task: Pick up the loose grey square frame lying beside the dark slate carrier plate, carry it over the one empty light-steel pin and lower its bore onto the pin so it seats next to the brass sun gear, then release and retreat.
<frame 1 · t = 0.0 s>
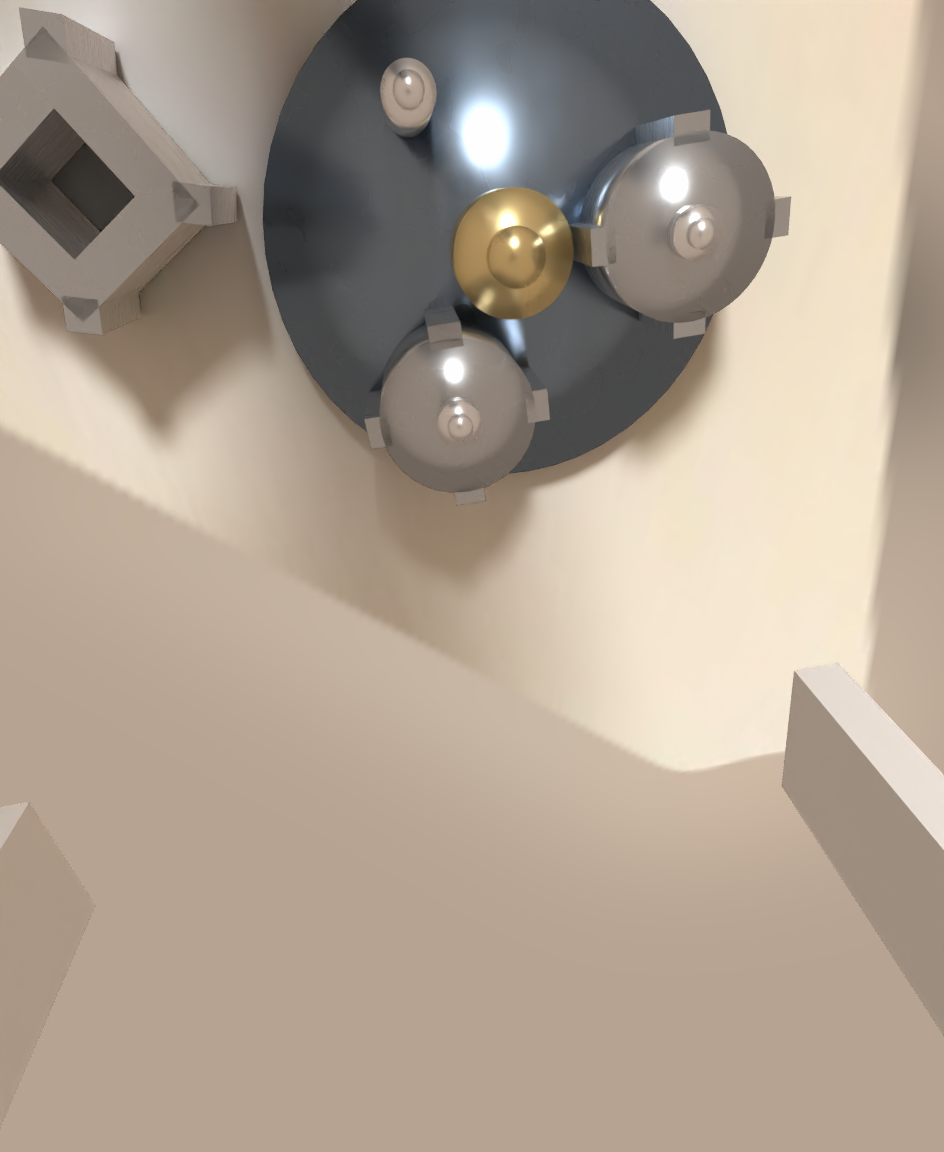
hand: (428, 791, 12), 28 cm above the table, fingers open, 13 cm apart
carrier: (501, 249, 34), on the table
grey square frame: (112, 188, 31), on the table
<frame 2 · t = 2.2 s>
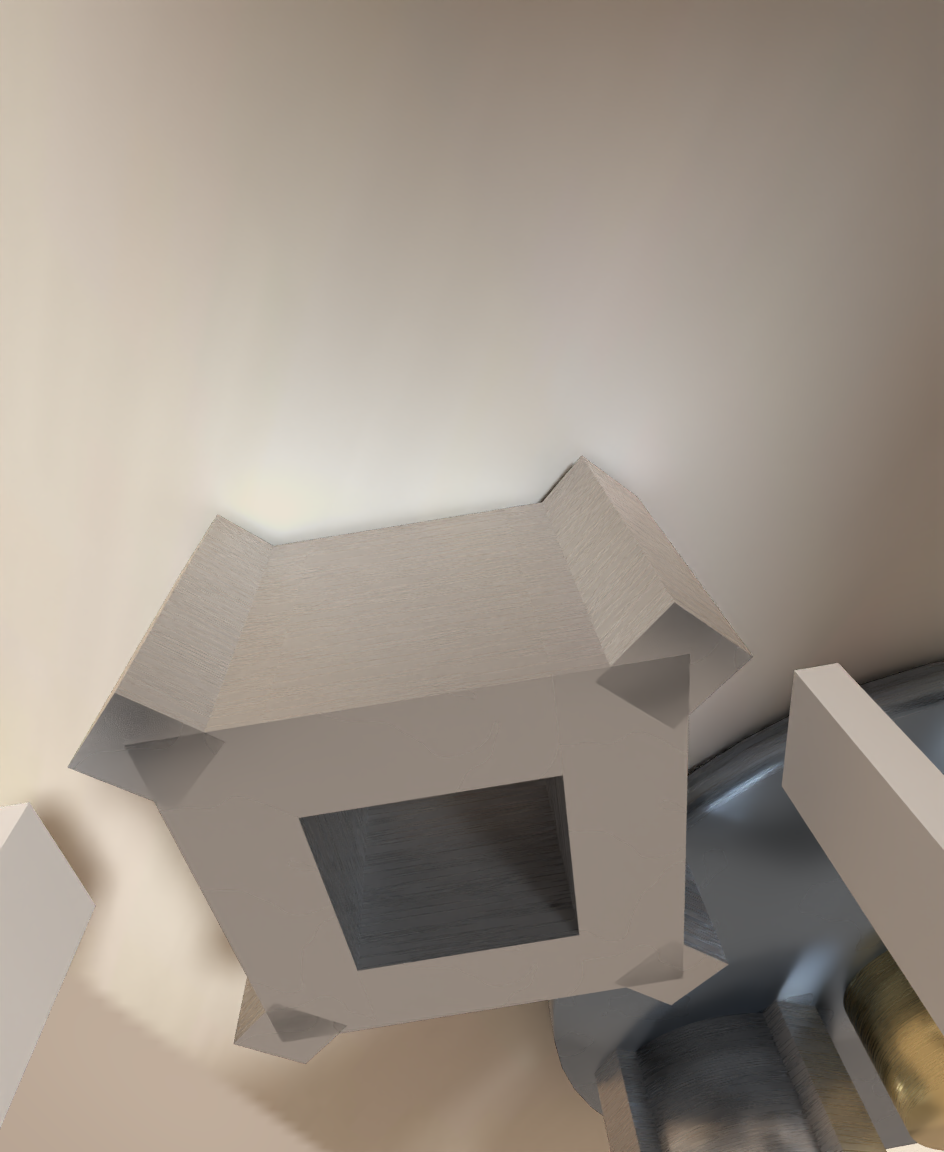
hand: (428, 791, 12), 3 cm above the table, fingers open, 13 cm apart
carrier: (907, 942, 21), on the table
grey square frame: (438, 673, 15), on the table
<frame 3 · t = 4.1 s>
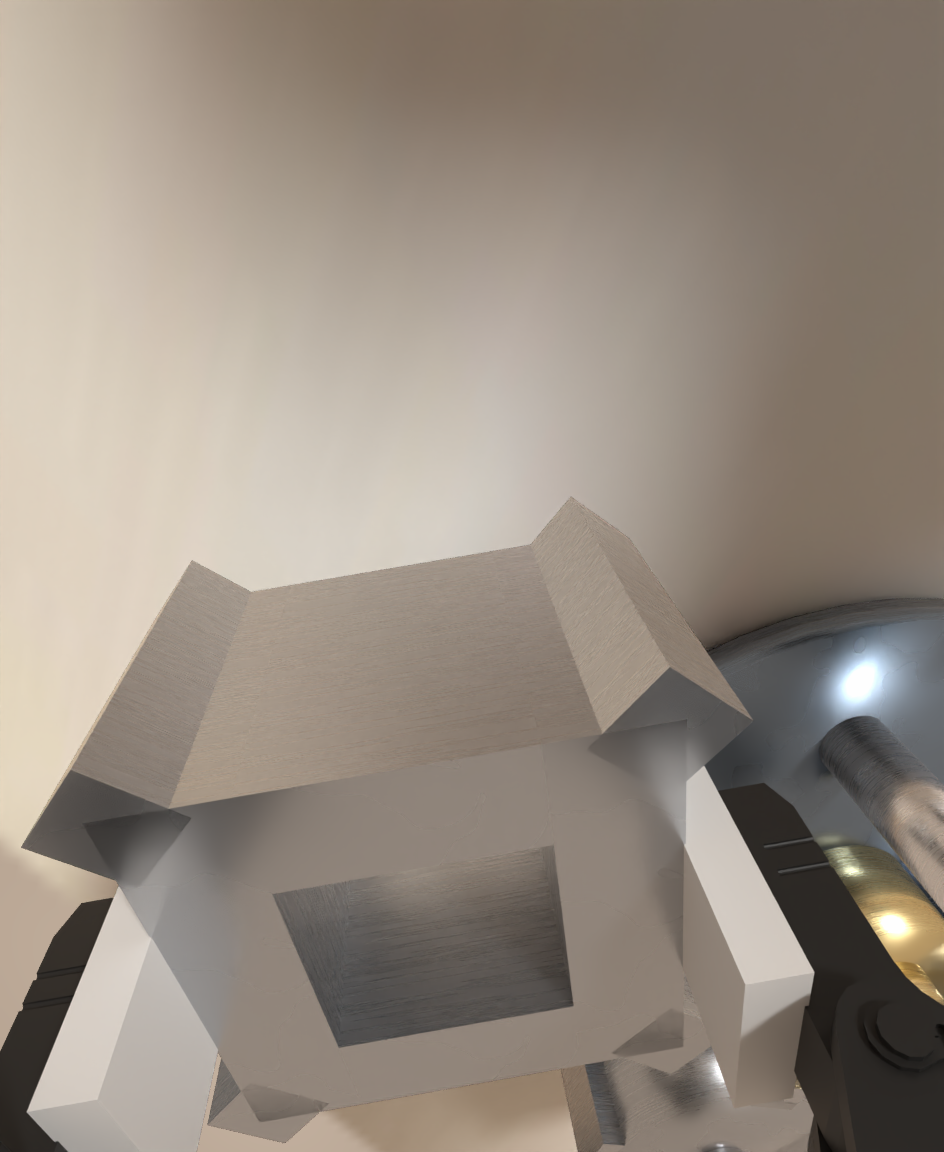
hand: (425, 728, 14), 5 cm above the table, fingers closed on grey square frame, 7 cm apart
carrier: (809, 871, 24), on the table
grey square frame: (425, 719, 14), point 4 cm above the table, touching gripper
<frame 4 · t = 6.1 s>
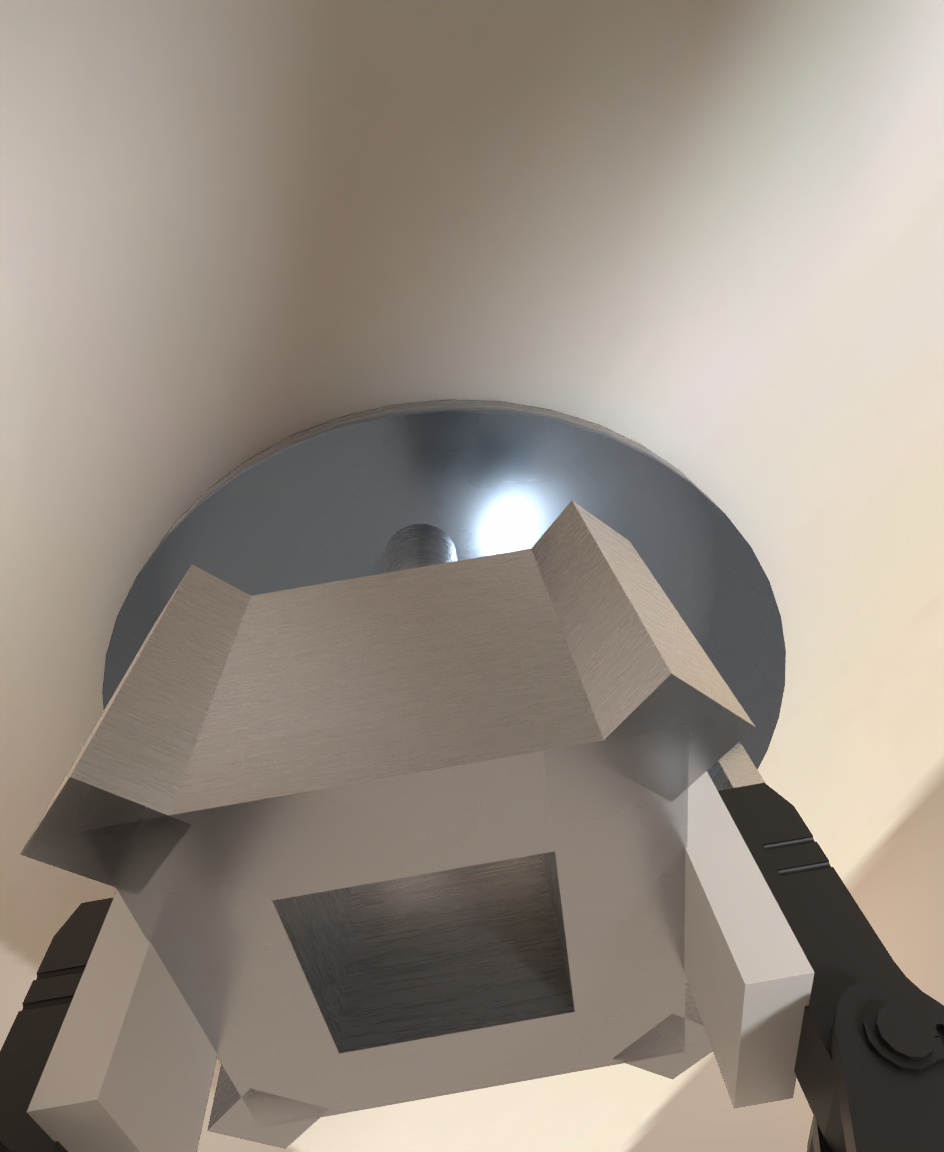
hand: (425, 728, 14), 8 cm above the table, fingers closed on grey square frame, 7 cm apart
carrier: (455, 716, 24), on the table
grey square frame: (425, 722, 14), point 8 cm above the table, touching gripper
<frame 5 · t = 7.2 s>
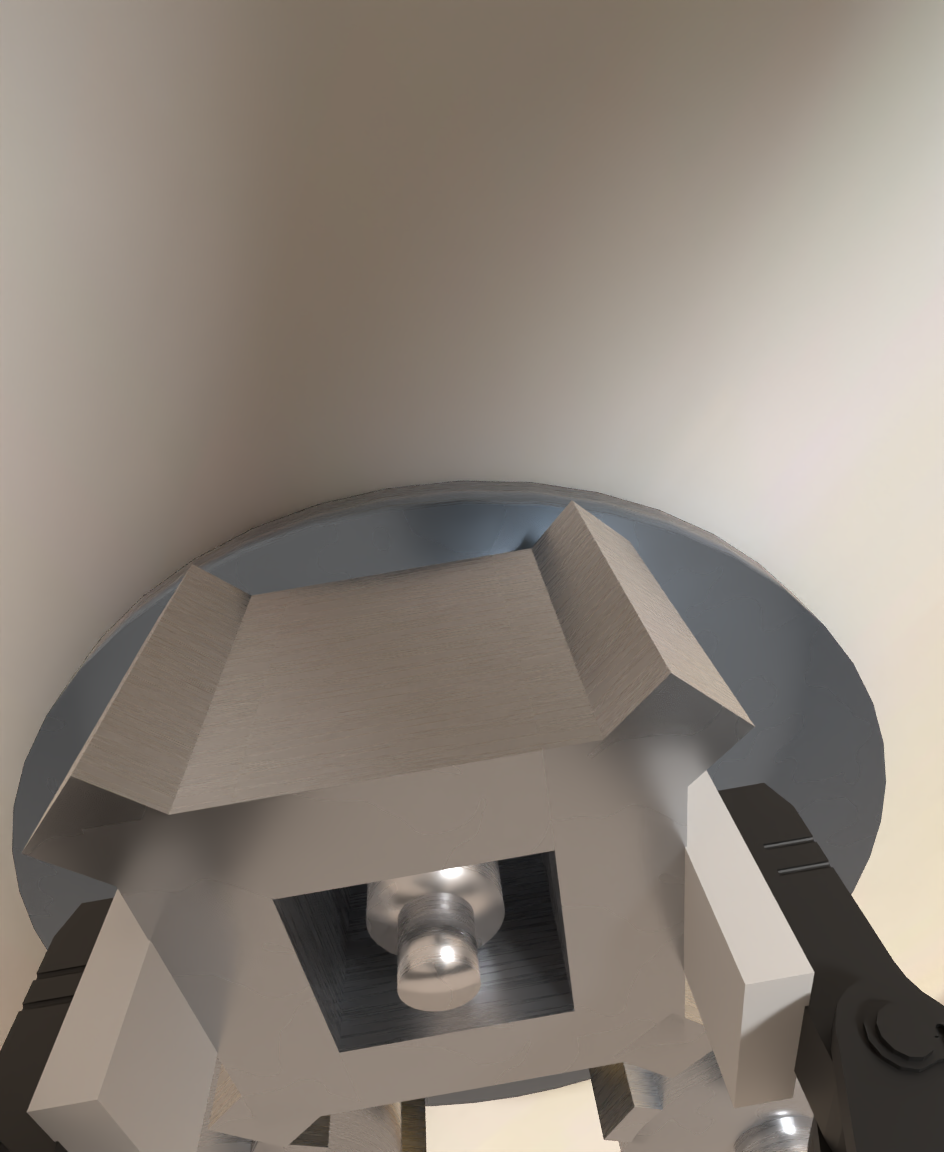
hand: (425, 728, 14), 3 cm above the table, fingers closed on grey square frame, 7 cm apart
carrier: (466, 853, 19), on the table
grey square frame: (425, 722, 14), point 2 cm above the table, touching gripper
when the fingers open (2 cm above the table, at t = 8.0 s): grey square frame stays where it is, resting on carrier.
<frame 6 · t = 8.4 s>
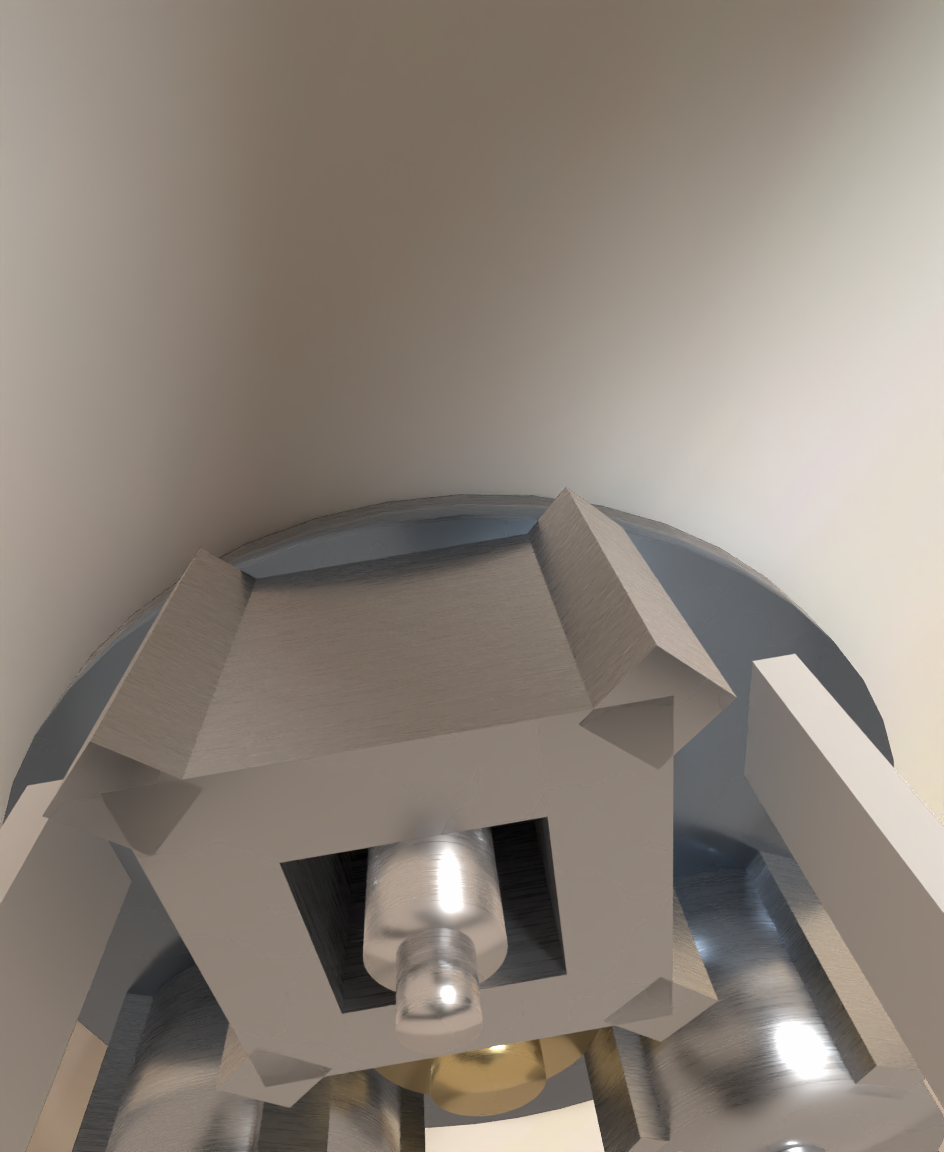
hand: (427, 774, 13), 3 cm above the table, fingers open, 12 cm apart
carrier: (467, 871, 19), on the table
grey square frame: (424, 703, 14), point 1 cm above the table, touching carrier
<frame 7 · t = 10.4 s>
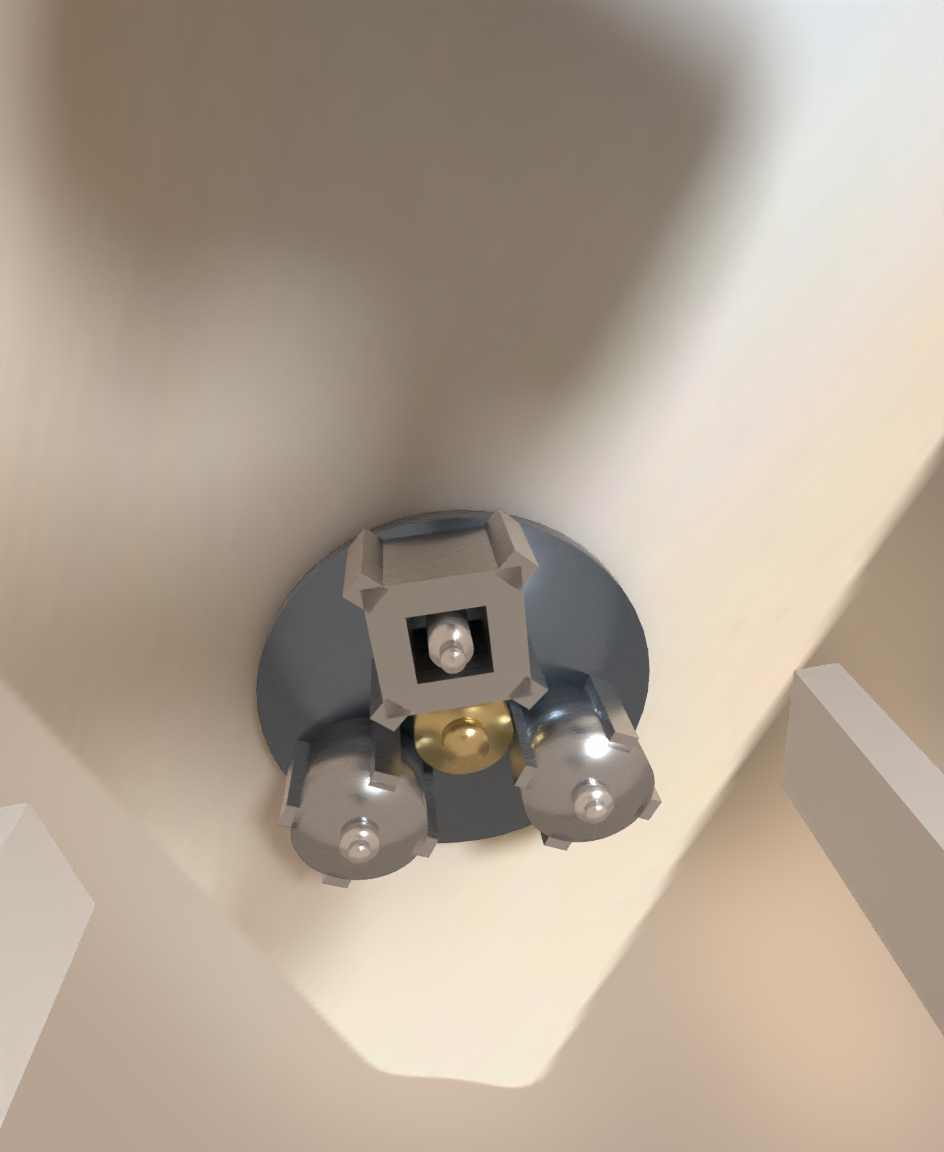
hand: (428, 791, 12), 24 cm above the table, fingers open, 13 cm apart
carrier: (456, 688, 40), on the table
grey square frame: (442, 594, 36), point 1 cm above the table, touching carrier
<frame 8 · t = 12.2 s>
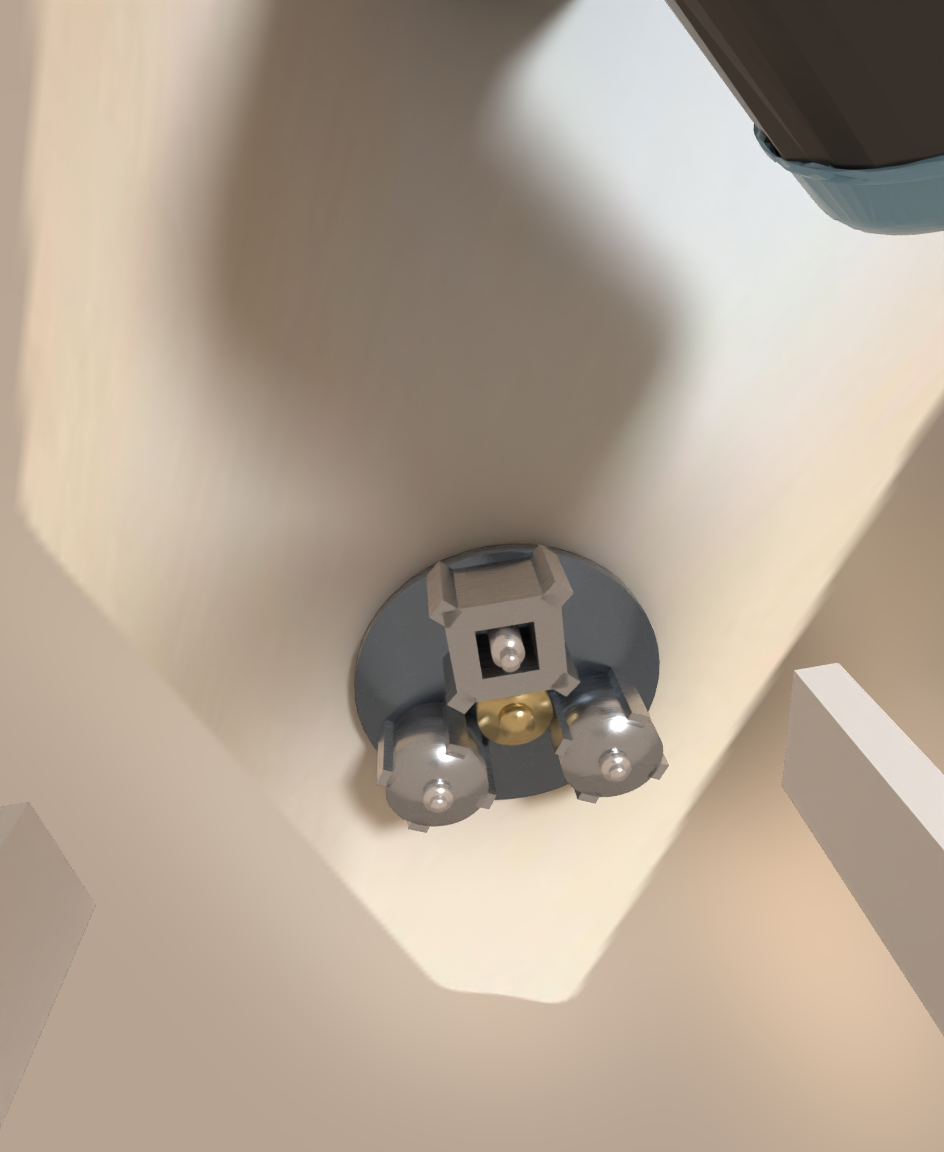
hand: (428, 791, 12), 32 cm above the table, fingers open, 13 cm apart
carrier: (507, 678, 51), on the table
grey square frame: (497, 608, 47), point 1 cm above the table, touching carrier
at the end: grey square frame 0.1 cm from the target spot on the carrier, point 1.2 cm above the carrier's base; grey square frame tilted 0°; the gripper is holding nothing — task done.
